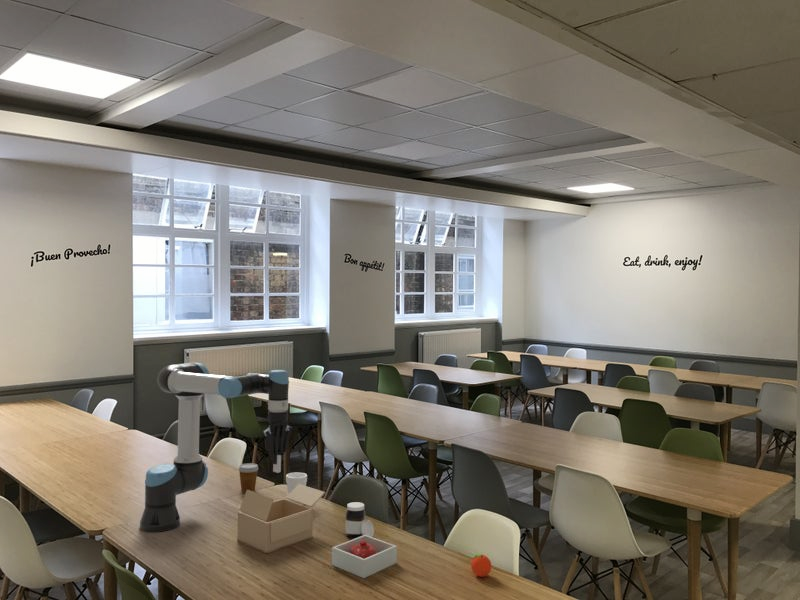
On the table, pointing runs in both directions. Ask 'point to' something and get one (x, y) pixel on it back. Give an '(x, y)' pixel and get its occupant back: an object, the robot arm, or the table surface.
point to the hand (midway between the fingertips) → (276, 471)
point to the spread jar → (357, 521)
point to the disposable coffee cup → (248, 476)
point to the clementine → (481, 565)
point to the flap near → (256, 505)
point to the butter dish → (363, 550)
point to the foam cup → (295, 481)
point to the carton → (276, 526)
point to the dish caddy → (368, 565)
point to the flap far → (305, 495)
